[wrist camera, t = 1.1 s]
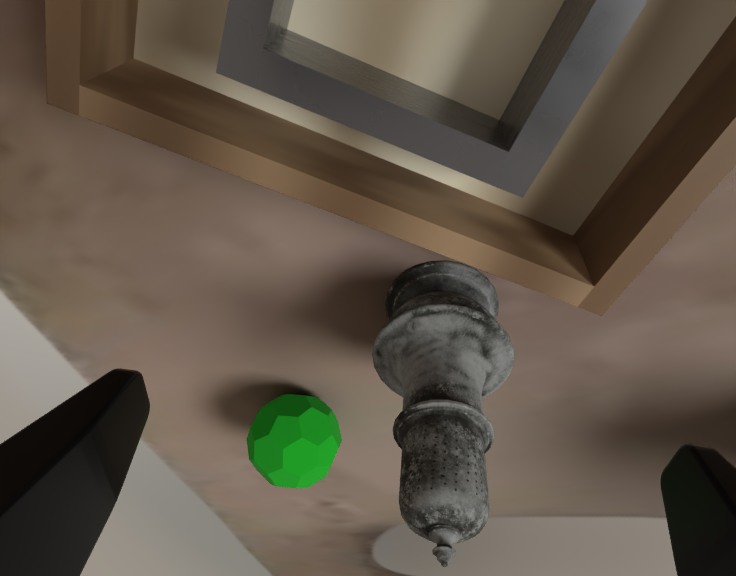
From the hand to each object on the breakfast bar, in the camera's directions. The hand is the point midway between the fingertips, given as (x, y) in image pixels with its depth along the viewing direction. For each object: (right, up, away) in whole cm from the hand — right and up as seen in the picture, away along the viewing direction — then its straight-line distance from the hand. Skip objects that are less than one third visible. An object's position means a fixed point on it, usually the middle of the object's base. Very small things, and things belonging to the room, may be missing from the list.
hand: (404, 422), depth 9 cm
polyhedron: (-4, -4, +21) cm, 22 cm away
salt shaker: (+3, +1, +16) cm, 16 cm away
